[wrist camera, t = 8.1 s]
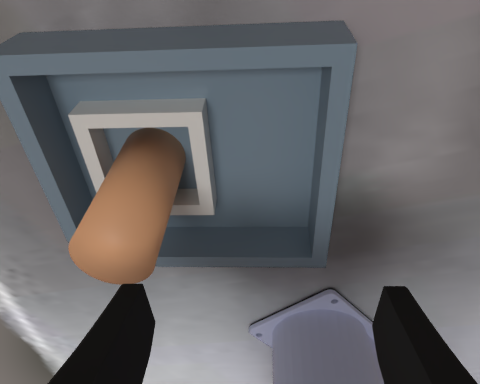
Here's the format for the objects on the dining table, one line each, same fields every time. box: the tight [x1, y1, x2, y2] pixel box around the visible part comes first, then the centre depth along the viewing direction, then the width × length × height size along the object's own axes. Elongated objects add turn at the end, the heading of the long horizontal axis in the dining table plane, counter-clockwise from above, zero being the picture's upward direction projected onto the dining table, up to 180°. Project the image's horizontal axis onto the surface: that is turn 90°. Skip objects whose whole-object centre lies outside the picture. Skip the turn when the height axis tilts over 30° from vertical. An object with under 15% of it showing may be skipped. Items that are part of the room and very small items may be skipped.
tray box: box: [0, 21, 357, 268], centre depth 19 cm, size 14×12×3 cm
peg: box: [69, 128, 186, 284], centre depth 17 cm, size 3×3×7 cm
